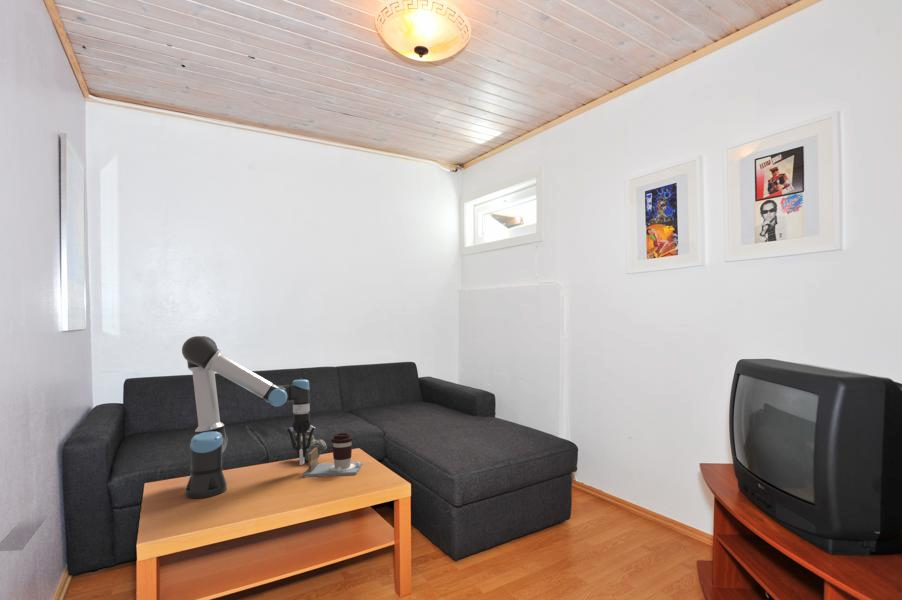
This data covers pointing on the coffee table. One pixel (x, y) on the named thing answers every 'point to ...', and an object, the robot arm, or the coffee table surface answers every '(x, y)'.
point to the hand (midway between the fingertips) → (302, 463)
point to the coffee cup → (342, 450)
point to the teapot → (312, 445)
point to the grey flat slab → (333, 470)
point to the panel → (312, 459)
